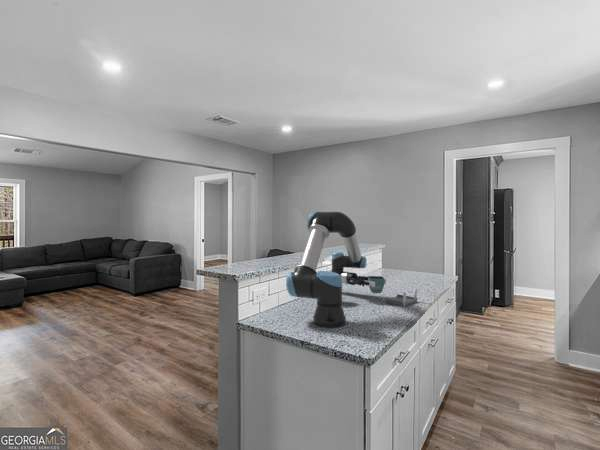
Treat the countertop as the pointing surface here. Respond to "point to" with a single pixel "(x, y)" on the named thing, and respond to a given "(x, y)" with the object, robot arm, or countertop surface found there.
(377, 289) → the flower pot
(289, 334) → the countertop surface
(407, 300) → the tray
